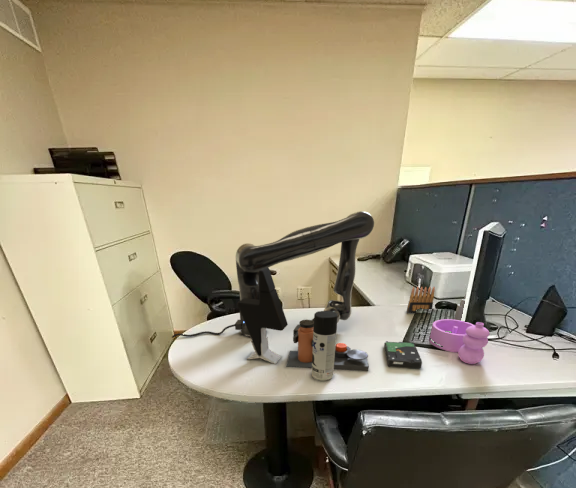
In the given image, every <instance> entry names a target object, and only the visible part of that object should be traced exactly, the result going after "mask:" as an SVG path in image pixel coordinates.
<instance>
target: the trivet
mask: <svg viewBox="0 0 576 488" xmlns="http://www.w3.org/2000/svg"><path fill="white" fill-rule="evenodd" d="M286 368H299V369H301V368H302V369H312V362H308V363H305V362H301V361H299V360H298V350H289V353H288V357H287V361H286Z"/></svg>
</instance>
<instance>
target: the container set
mask: <svg viewBox="0 0 576 488" xmlns="http://www.w3.org/2000/svg"><path fill="white" fill-rule="evenodd" d="M484 325H485V323H484V322H481V321H477V322H475V324H473V323H471V322H465V321H460V320H454V318H453V319H452V318H442V319H438V320H435V321H433V322H432V325H431V331H430V336H429V339H428V341H429V343H430V344H431V345H432V346H433V347H435V348H437V349H440V350H443V351H446V352H451V353H457V355H458V358H459V359H460V360H461V362H463V363H465V364H468V365H475V364H478V363H480V362H481V361H482V360H483V359H484V357H485V351H484V349H483V348H485V347H486V346H487V345H488V343H489V339H488V337H489V336H490V331H489V329H488V328H486V327H484ZM445 331H451V332H452V333H449V332H445ZM430 338H431V339H432V340H433V341H434V342H436V343H437V344H440V345H441V346H443V347H441V346H439V345H437V344H435V343H433V342H432V341H431V340H430Z"/></svg>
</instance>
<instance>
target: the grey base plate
mask: <svg viewBox="0 0 576 488" xmlns="http://www.w3.org/2000/svg"><path fill="white" fill-rule="evenodd" d="M349 350H352V349H351V347H350V346H348V345H347V350H346V351H345V352H338V351H336V346H335V358H334V370H339V371H355V372H357V371H358V372H369V369H370V368H369V362H368V357H367V358H366V359H364V360H353V359H350V358H348V357H347V355H346V353H347V352H348V351H349Z"/></svg>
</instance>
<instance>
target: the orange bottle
mask: <svg viewBox="0 0 576 488" xmlns="http://www.w3.org/2000/svg"><path fill="white" fill-rule="evenodd" d="M298 325H299V326H300V328H299V329H298V342H297V351H298V360H299V361H301V362H305V363H308V362H312V352H313V347H312V346H311V343H312V340H313V328H314V321H312V319H302V320H300V321H299V324H298Z"/></svg>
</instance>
